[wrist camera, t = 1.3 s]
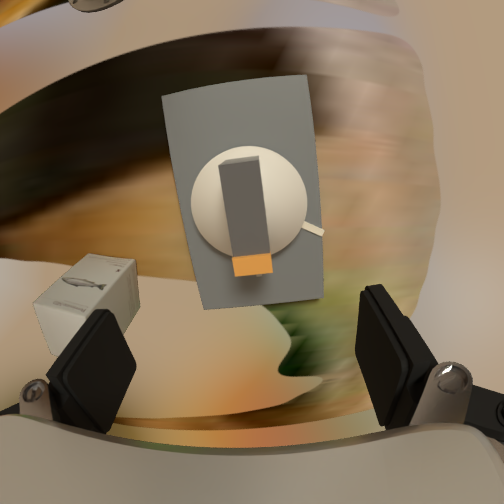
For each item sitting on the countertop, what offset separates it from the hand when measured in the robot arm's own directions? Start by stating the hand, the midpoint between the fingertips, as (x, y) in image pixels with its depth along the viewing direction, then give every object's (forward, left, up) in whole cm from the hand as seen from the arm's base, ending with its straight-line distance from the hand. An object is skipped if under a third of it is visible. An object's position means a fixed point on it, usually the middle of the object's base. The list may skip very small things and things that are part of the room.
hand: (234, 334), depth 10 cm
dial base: (0, 0, -22) cm, 22 cm away
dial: (0, 0, -20) cm, 20 cm away
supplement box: (+8, -19, -22) cm, 30 cm away
